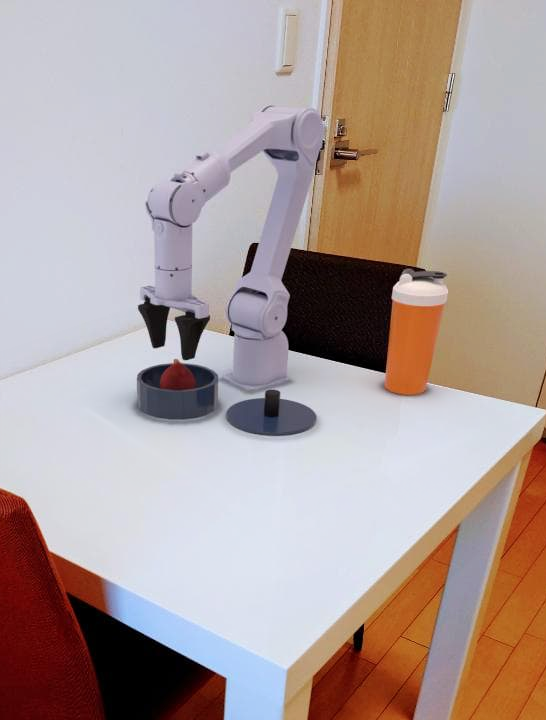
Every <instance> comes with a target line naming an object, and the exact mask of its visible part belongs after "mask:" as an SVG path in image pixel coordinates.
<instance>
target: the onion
mask: <svg viewBox="0 0 546 720" xmlns="http://www.w3.org/2000/svg"><path fill="white" fill-rule="evenodd" d="M172 363H173V365H171V366H170V367H168V368H167V369H166V370H165V371H164V373H163V375H162V377H161V381H160V389H166V390H189V389H195V379H194V376H193V374H192V372H191V371H190V370H189V369H188V368H187V367H186V366H184V365H183V364H182V363H183V362H181V361H180V360H179V359H178V358H174V359H173V362H172Z"/></svg>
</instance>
